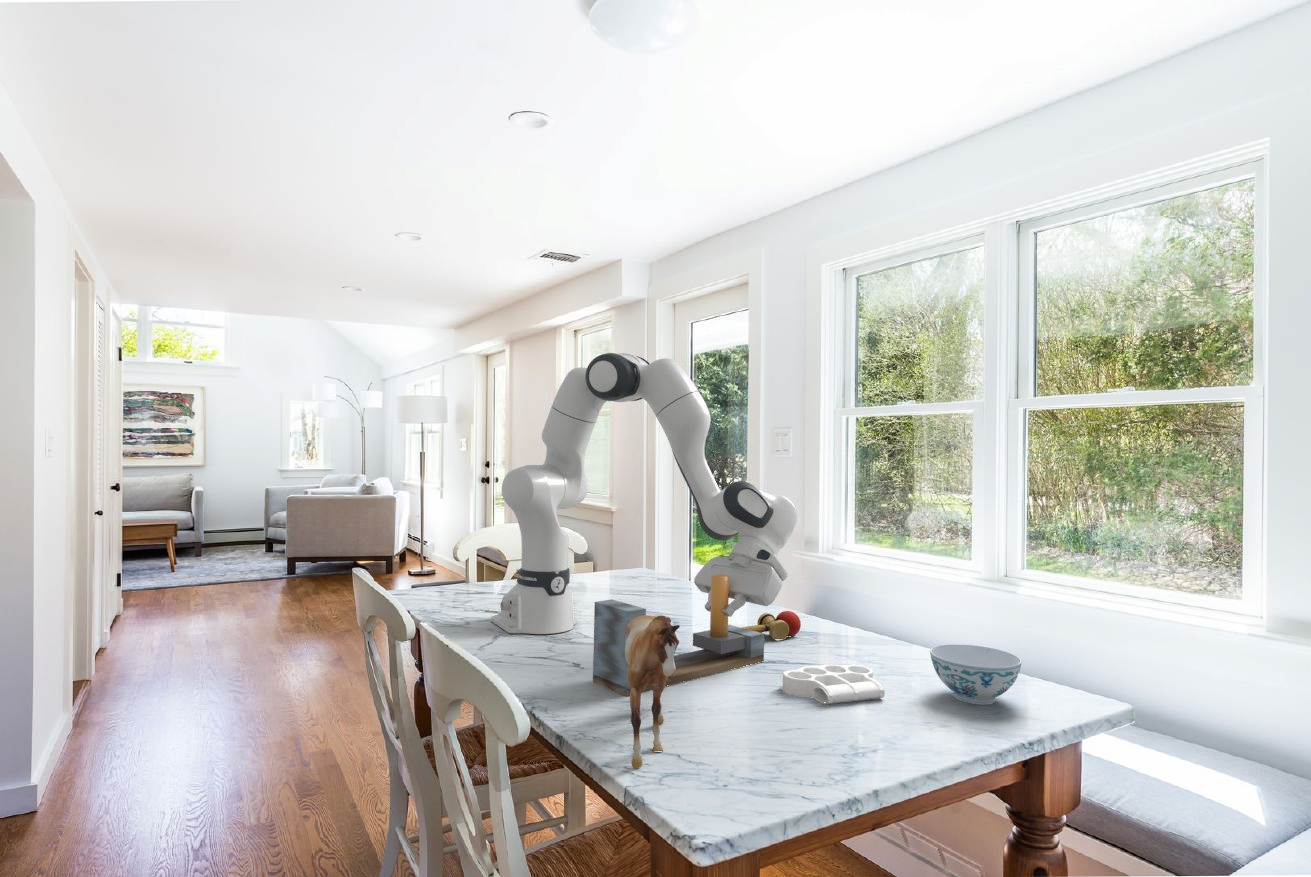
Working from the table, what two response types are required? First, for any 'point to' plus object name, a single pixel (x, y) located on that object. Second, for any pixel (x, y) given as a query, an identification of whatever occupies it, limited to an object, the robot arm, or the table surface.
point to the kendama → (778, 625)
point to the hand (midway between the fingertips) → (717, 612)
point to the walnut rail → (689, 666)
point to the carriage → (719, 622)
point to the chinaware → (975, 671)
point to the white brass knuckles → (833, 683)
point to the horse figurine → (649, 670)
